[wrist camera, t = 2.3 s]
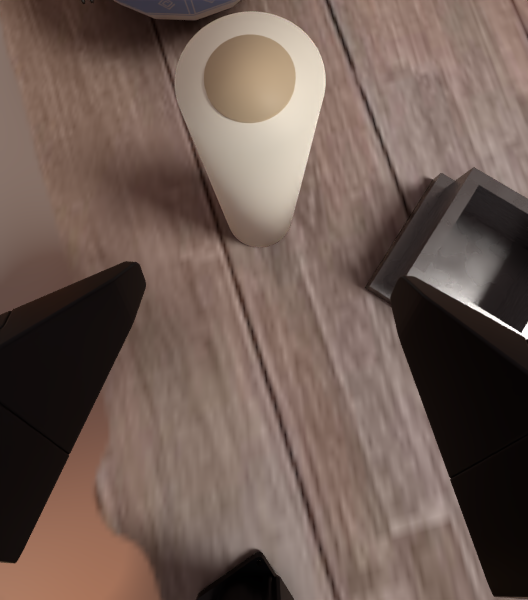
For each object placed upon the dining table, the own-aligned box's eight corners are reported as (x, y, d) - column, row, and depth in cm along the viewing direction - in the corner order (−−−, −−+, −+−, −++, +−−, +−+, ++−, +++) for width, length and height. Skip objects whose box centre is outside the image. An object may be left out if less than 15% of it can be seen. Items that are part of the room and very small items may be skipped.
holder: (483, 362, 22) (532, 372, 18) (365, 287, 22) (386, 280, 18) (550, 248, 22) (612, 233, 18) (433, 179, 23) (468, 149, 19)
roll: (250, 260, 23) (227, 179, 9) (214, 207, 23) (144, 58, 10) (304, 224, 23) (357, 95, 10) (268, 171, 23) (270, -21, 10)
